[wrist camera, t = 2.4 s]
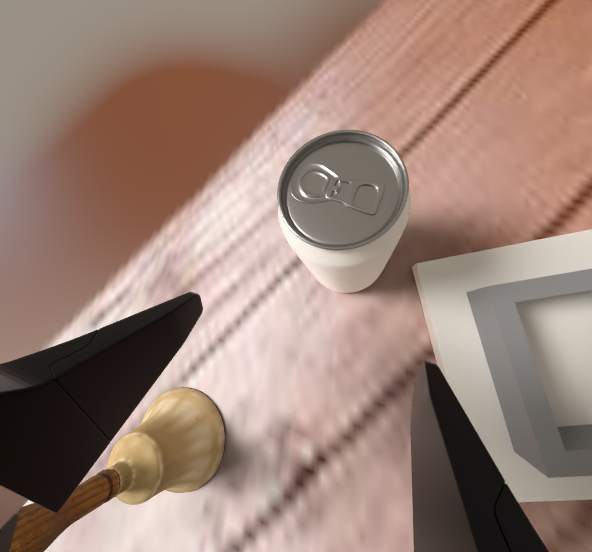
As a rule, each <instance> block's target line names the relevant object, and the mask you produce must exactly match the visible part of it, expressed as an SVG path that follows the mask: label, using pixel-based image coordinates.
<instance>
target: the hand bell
mask: <svg viewBox="0 0 592 552" xmlns="http://www.w3.org/2000/svg"><path fill="white" fill-rule="evenodd" d="M224 444H225V434H224V426H223V422H222V419H221V416H220V414H219V412H218V410H217V408H216V407H215V405H214V404H213V402H212V401H211V400H210V399H209V398H208V397H207V396H205V395H204V394H203V393H201V392H199V391H198V390H195V389H191V388H185V387H180V388H174V389H171V390H169V391H167V392H165V393H163V394H162V395H160V396H159V397H158V398H157V399H156V400H155V401H154V402H153V403H152V405H151V406H150V407H149V409H148V410H147V412H146V414H145V416H144V418H143V421H142V423H141V425H140V426H139V427H138V428H136V429H135V430H133V431H132V432H130V433H129V434H127V435H125V436H124V437H123V438H122V439H120V440H119V441H118V443H117V444H116V445H115V446H114V448H113V450H112V452H111V454H110V457H109V461H108V467H107V469H106V470H102V471H101V472H99V473H98V474H97V475H95V476H93V477H91V478H90V479H88V480H86V481H85V482H83V483H82V484H80V485H78V486H77V488H76V489H75V490H74V492H73V493H72V494H71V496H70V497H69V498H68V500H67V501H66V502H65V504H64V505H63V506H62V508H61V509H60V510H59V511H58V512H57V513H54V512H52V511H50V510H48V509H46V508H44V507H42V506H40V505H38V504H36V503H33V504H30V505H27V506H23V507H21V509H20V510H19V511H18V512H17V514H18V515H19V517H18V521H17V524H16V528H15V532H14V535H13V539H12V543H11V546H10V550H9V552H44V551H45V550H46V549H47V548H48V547H49V546H50V545H51V543H52V542H53V541H54V540H55V539H56V538H57V537H58V536H59V535H60V534H61V533H62V532H63V531H64V530H65V529H66V528H67V527H69V526H70V525H71V524H72V523H74V522H75V521H77V520H79V519H80V518H82V517H83V516H85V515H86V514H88V513H90V512H91V511H93V510H94V509H96V508H98V507H99V506H101V505H102V504H103V503H106V502H108V501H109V500H111V499H112V498H113V497H117V498H118V499H119V500H120V501H122V502H124V503H126V504H131V505H134V504H140V503H143V502H145V501H147V500H149V499H150V498H152V497H153V496H155V495H156V494H158V493H160V492H162V491H164V490H167V491H170V492H174V493H184V492H190V491H193V490H196V489H198V488H200V487H201V486H203V485H204V484H205V483H207V482H208V481H209V480H210V479H211V478H212V476H213V475H214V474H215V472H216V471H217V468H218V467H219V465H220V462H221V460H222V456H223V452H224Z"/></svg>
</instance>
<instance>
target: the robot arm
mask: <svg viewBox="0 0 592 552" xmlns="http://www.w3.org/2000/svg"><path fill="white" fill-rule="evenodd" d="M202 311H203V306H202V302H201V298H200V295H199V294H196V293H193V292H188V293H186V294H183V295H181V296H178V297H176V298H174V299H171V300H169V301H166V302H164V303H161V304H159V305H157V306H154V307H152V308H149V309H147V310H144V311H142V312H139V313H137V314H135V315H132V316H130V317H127V318H125V319H122V320H120V321H117V322H115V323H113V324H110V325H108V326H105V327H103V328H100V329H99V330H95V331H93V332H90V333H88V334H85V335H83V336H80V337H78V338H75V339H73V340H70V341H67V342H65V343H62V344H59V345H56V346H53V347H51V348H48V349H45V350H42V351H39V352H36V353H33V354H30V355H28V356H25V357H22V358H19V359H16V360H13V361H10V362H7V363H3V364H0V552H9V550H10V546H11V543H12V539H13V535H14V532H15V528H16V524H17V521H18V517H19V515H18V514H17V512H18V511H19V510H20V509H21V507H22V506H23V505H24V504H25V503H26V502H27V501H28V500H30V501H32V502H34V503H36V504H38V505H40V506H42V507H44V508H46V509H48V510H50V511H52V512H54V513H57V512H58V511H59V510H60V509H61V508H62V506H63V505H64V504H65V502H66V501H67V500H68V498H69V497H70V496H71V494H72V493H73V492H74V490H75V489H76V488H77V486H78V485H79V484H80V482H81V481H82V480H83V478H84V477H85V476H86V474H87V473H88V472H89V470H90V469H91V468H92V466H93V465H94V463H95V462H96V461H97V459H98V458H99V457H100V455H101V454H102V453H103V451H104V450H105V449H106V447H107V446H108V445H109V443H110V441H111V440H112V439H113V438H114V436H115V435H116V434H117V432H118V431H119V430H120V428H121V427H122V426H123V424H124V423H125V422H126V420H127V419H128V418H129V416H130V415H131V414H132V412H133V411H134V410H135V408H136V407H137V405H138V404H139V403H140V401H141V400H142V399H143V397H144V396H145V395H146V393H147V392H148V391H149V389H150V388H151V387H152V385H153V384H154V383H155V381H156V380H157V379H158V377H159V376H160V375H161V373H162V372H163V371H164V369H165V368H166V367H167V365H168V364H169V362H170V361H171V360H172V358H173V357H174V356H175V354H176V353H177V352H178V350H179V349H180V348H181V346H182V345H183V343H184V342H185V340H186V339H187V337H188V336H189V334H190V332H191V331H192V329H193V327H194V325H195V324H196V322H197V320H198V319H199V317H200V315H201V314H202ZM411 458H412V496H413V533H414V552H549V551H548V549H547V548H546V546H545V545H544V543H543V542H542V540H541V539H540V537H539V536H538V534H537V532H536V531H535V529H534V528H533V526H532V525H531V523H530V521H529V520H528V518H527V516H526V515H525V513H524V512H523V510H522V508H521V507H520V505H519V503H518V502H517V500H516V498H515V497H514V495H513V493H512V491H511V490H510V488H509V486H508V485H507V484H506V483H505V480H504V478H503V476H502V474H501V473H500V471H499V469H498V468H497V466H496V464H495V462H494V461H493V459H492V457H491V456H490V454H489V452H488V450H487V449H486V447H485V445H484V444H483V442H482V440H481V438H480V437H479V435H478V433H477V432H476V430H475V428H474V426H473V425H472V423H471V421H470V420H469V418H468V416H467V414H466V413H465V411H464V409H463V408H462V406H461V404H460V402H459V401H458V399H457V397H456V396H455V394H454V392H453V390H452V389H451V387H450V385H449V384H448V382H447V380H446V378H445V377H444V375H443V373H442V372H441V370H440V368H439V366H438V365H436V364H434V363H431V362H427V361H424V362H423V363H422V365H421V367H420V369H419V370H418V372H417V374H416V377H415V383H414V394H413V404H412V415H411Z"/></svg>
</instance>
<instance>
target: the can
mask: <svg viewBox="0 0 592 552" xmlns="http://www.w3.org/2000/svg"><path fill="white" fill-rule="evenodd" d="M277 199H278V214H279V221H280V225H281V228H282V231H283V233H284V236H285V238H286V239H287V241H288V243H289V244H290V246H291V247H292V248H293V250H294V251H295V252H296V254H297V255H298V256H299V258H300V259H301V260H302V262H303V263H304V264H305V265H306V267H307V268H308V269H309V270H310V272H311V273H312V274H313V275H314V277H315V278H316V279H317V280H318V281H319V282H320V283H321V284H322V285H324V286H325V287H327V288H328V289H330V290H333V291H336V292H341V293H352V292H357V291H360V290H363V289H365V288H367V287H368V286H370V285H371V284H372V283H373V282H375V280H376V279H377V278H378V277H379V276H380V274H381V272H382V271H383V269H384V267H385V266H386V264H387V262H388V260H389V258H390V257H391V255H392V253H393V251H394V249H395V247H396V245H397V244H398V242H399V240H400V238H401V236H402V234H403V232H404V229H405V227H406V225H407V222H408V218H409V214H410V208H411V195H410V189H409V179H408V173H407V169H406V167H405V164H404V162H403V160H402V158H401V157H400V155H399V154H398V152H397V151H396V150H395V149H394V148H393V147H392V146H391V145H390V144H389V143H388V142H386V141H385V140H383V139H382V138H380V137H378V136H376V135H373V134H371V133H367V132H364V131H358V130H339V131H333V132H329V133H326V134H323V135H320V136H318V137H316V138H314V139H312V140H310V141H309V142H307V143H306V144H304V145H303V146H302V147H301V148H300V149H298V150H297V151H296V152H295V153H294V154H293V156H292V157H291V158H290V159H289V161H288V162H287V164H286V166H285V167H284V169H283V171H282V174H281V177H280V180H279V184H278V191H277Z"/></svg>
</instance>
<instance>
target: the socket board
mask: <svg viewBox="0 0 592 552" xmlns="http://www.w3.org/2000/svg"><path fill="white" fill-rule="evenodd" d="M412 270H413V274H414V278H415V282H416V286H417V289H418V293H419V297H420V301H421V305H422V309H423V312H424V316H425V320H426V324H427V328H428V331H429V335H430V339H431V343H432V347H433V351H434V354H435V358H436V362H437V365H438V366H439V368H440V370H441V372H442V373H443V375H444V377H445V378H446V380H447V382H448V384H449V385H450V387H451V389H452V390H453V392H454V394H455V396H456V397H457V399H458V401H459V402H460V404H461V406H462V408H463V409H464V411H465V413H466V414H467V416H468V418H469V420H470V421H471V423H472V425H473V426H474V428H475V430H476V432H477V433H478V435H479V437H480V438H481V440H482V442H483V444H484V445H485V447H486V449H487V450H488V452H489V454H490V456H491V457H492V459H493V461H494V462H495V464H496V466H497V468H498V469H499V471H500V473H501V474H502V476H503V478H504V480H505V483H506V484H507V485H508V486H509V488H510V490H511V491H512V493H513V495H514V497H515V498H516V500H517V502H540V501H566V500H592V229H591V230H586V231H581V232H576V233H571V234H565V235H560V236H555V237H550V238H545V239H540V240H534V241H529V242H524V243H519V244H514V245H509V246H503V247H498V248H493V249H488V250H483V251H478V252H472V253H467V254H462V255H457V256H452V257H446V258H441V259H436V260H431V261H426V262H421V263H416V264H415V265H414V266H413V267H412Z"/></svg>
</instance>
